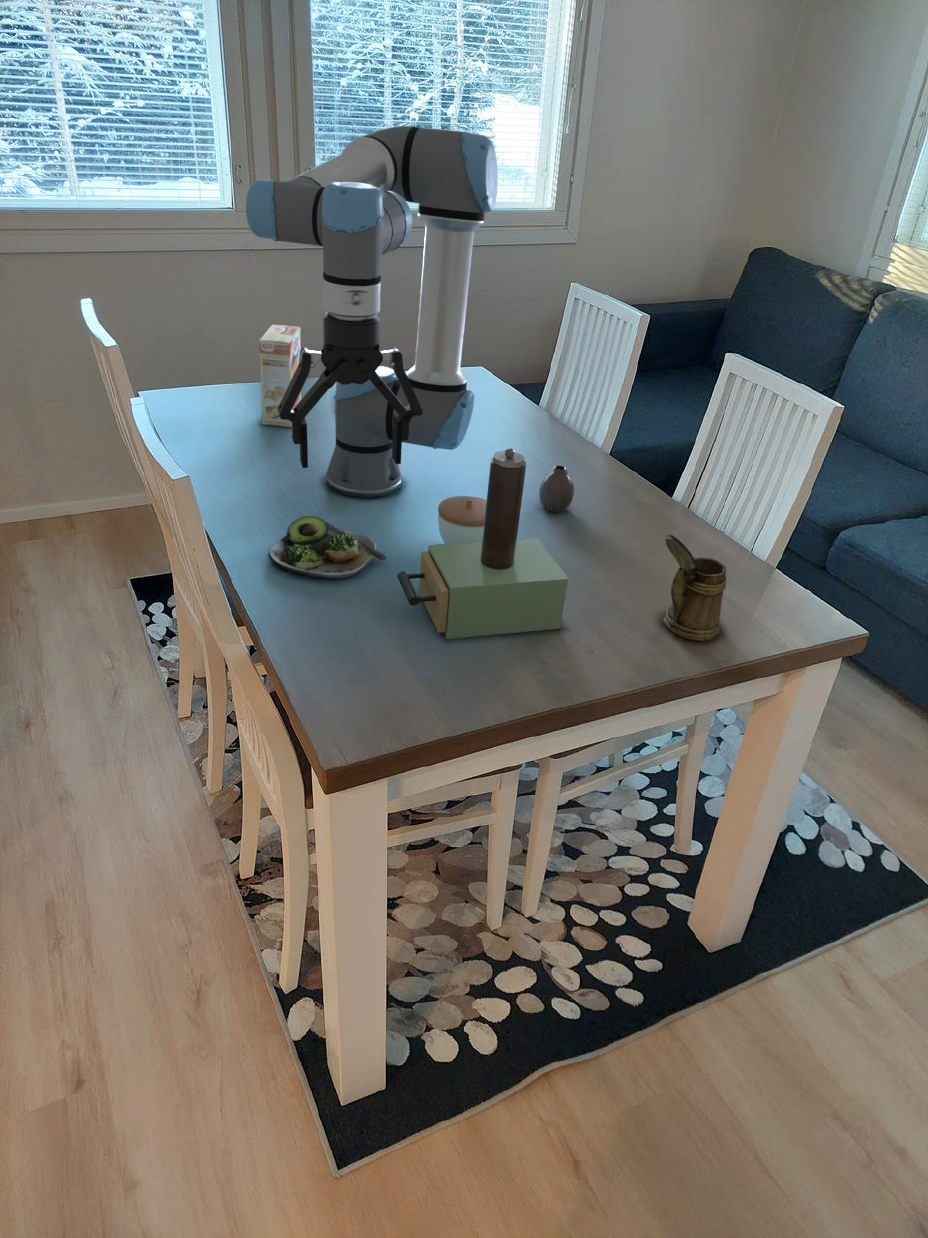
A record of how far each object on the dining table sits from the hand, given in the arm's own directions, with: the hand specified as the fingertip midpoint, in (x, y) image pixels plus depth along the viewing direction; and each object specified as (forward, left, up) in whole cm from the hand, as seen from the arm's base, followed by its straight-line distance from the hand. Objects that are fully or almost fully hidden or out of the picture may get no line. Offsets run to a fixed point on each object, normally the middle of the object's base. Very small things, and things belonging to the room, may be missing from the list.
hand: (350, 462), depth 126 cm
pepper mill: (+7, +22, -14) cm, 27 cm away
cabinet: (+7, +22, -23) cm, 33 cm away
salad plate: (-15, -2, -24) cm, 28 cm away
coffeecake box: (-86, -1, -24) cm, 89 cm away
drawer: (+7, +18, -23) cm, 30 cm away
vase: (-29, +47, -24) cm, 60 cm away
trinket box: (-15, +24, -24) cm, 37 cm away
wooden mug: (+17, +51, -24) cm, 59 cm away
